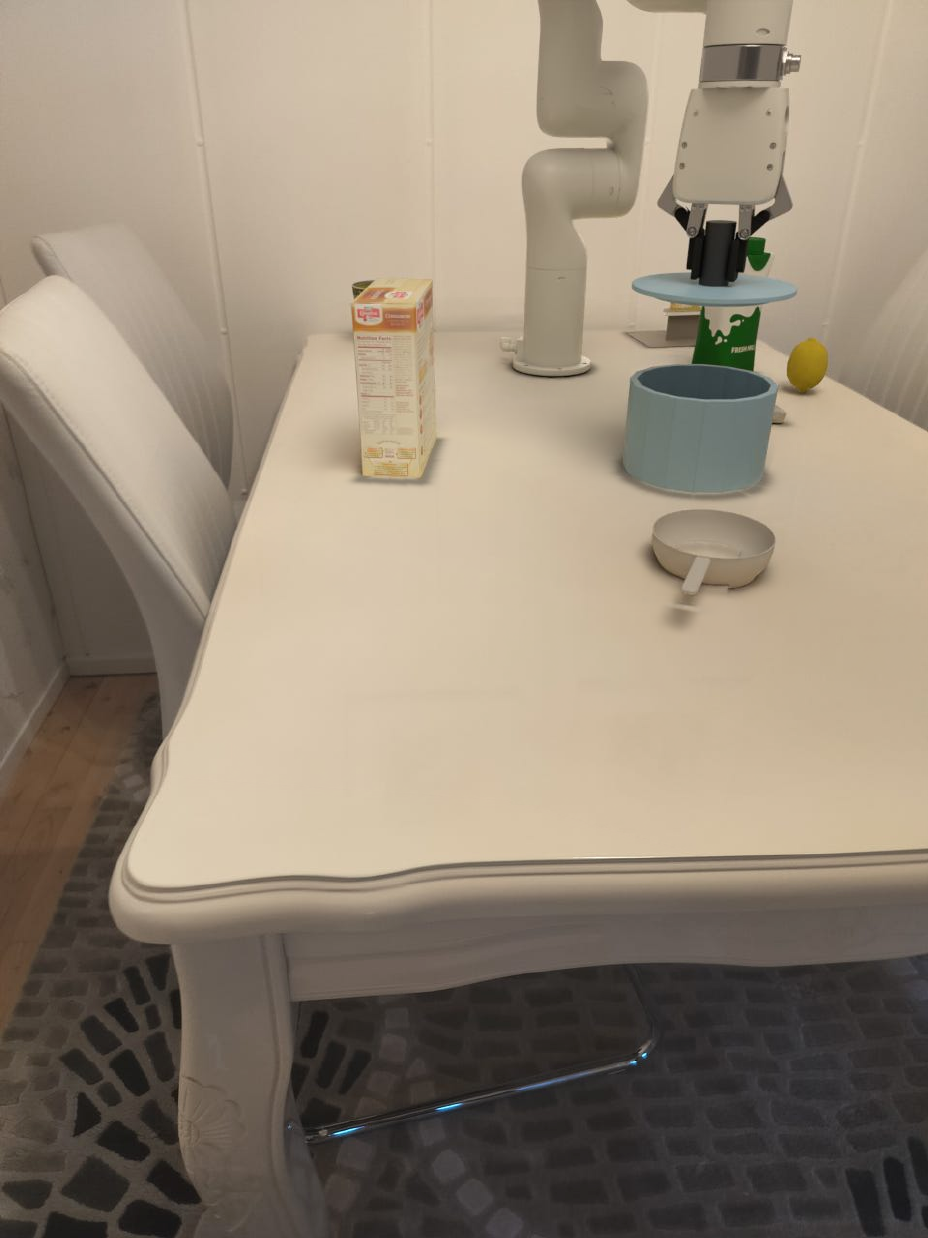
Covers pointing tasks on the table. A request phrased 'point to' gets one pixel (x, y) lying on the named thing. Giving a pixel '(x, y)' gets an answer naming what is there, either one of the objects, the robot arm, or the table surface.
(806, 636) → the table surface
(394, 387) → the coffeecake box
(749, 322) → the milk carton
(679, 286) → the blue pot lid
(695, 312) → the platform
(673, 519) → the saucepan
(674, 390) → the bowl
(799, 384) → the lemon
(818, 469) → the table surface
